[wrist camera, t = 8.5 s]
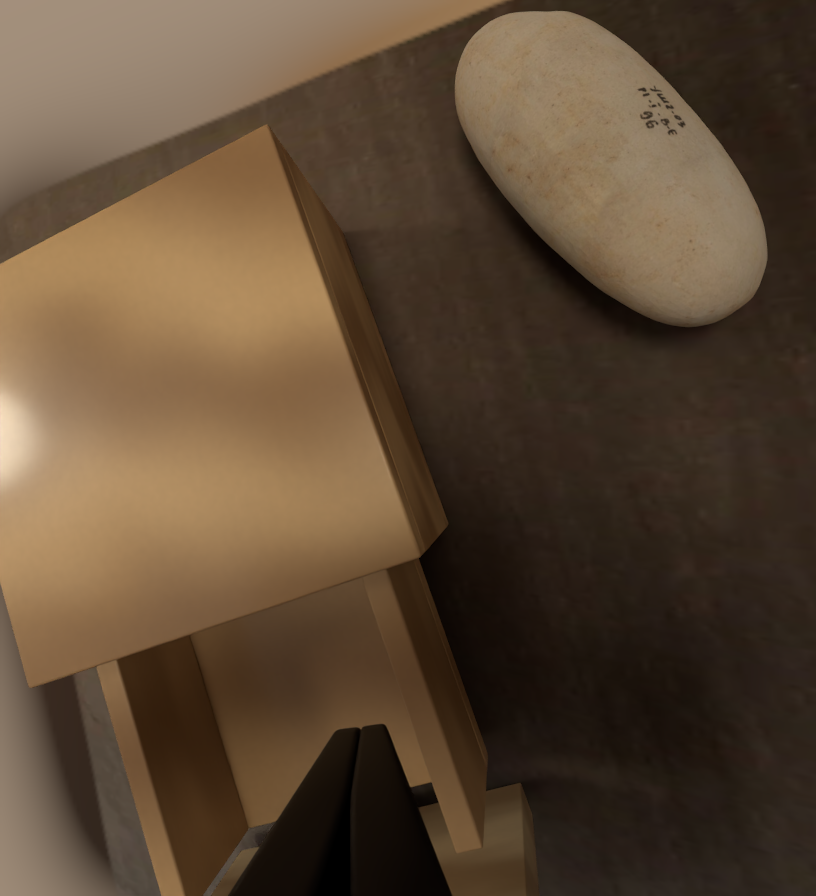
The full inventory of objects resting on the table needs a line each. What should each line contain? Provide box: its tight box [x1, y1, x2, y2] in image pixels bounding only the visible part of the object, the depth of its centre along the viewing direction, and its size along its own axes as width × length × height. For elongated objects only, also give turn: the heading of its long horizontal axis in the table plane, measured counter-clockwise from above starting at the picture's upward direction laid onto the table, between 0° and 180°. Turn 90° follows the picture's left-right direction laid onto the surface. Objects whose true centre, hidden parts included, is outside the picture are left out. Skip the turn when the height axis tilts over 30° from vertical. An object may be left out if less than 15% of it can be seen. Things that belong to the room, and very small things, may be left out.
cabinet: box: [0, 125, 448, 688], centre depth 17 cm, size 13×13×7 cm
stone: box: [455, 11, 767, 327], centre depth 16 cm, size 6×6×12 cm
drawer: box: [96, 558, 539, 896], centre depth 16 cm, size 16×11×5 cm
